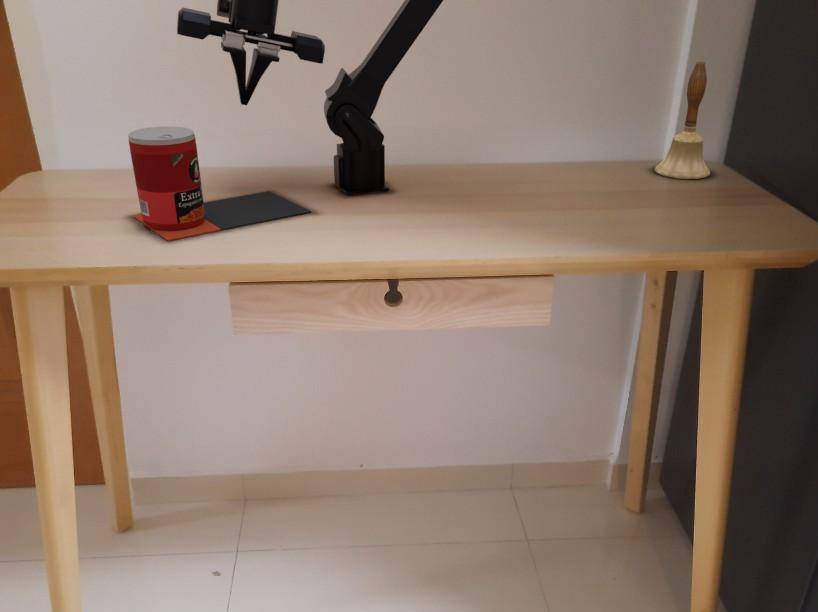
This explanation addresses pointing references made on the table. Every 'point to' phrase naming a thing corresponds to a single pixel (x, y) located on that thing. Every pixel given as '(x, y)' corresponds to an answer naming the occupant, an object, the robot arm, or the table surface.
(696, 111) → the hand bell
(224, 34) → the robot arm
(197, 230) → the pad
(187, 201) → the canned food
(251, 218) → the mat
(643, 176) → the table surface
